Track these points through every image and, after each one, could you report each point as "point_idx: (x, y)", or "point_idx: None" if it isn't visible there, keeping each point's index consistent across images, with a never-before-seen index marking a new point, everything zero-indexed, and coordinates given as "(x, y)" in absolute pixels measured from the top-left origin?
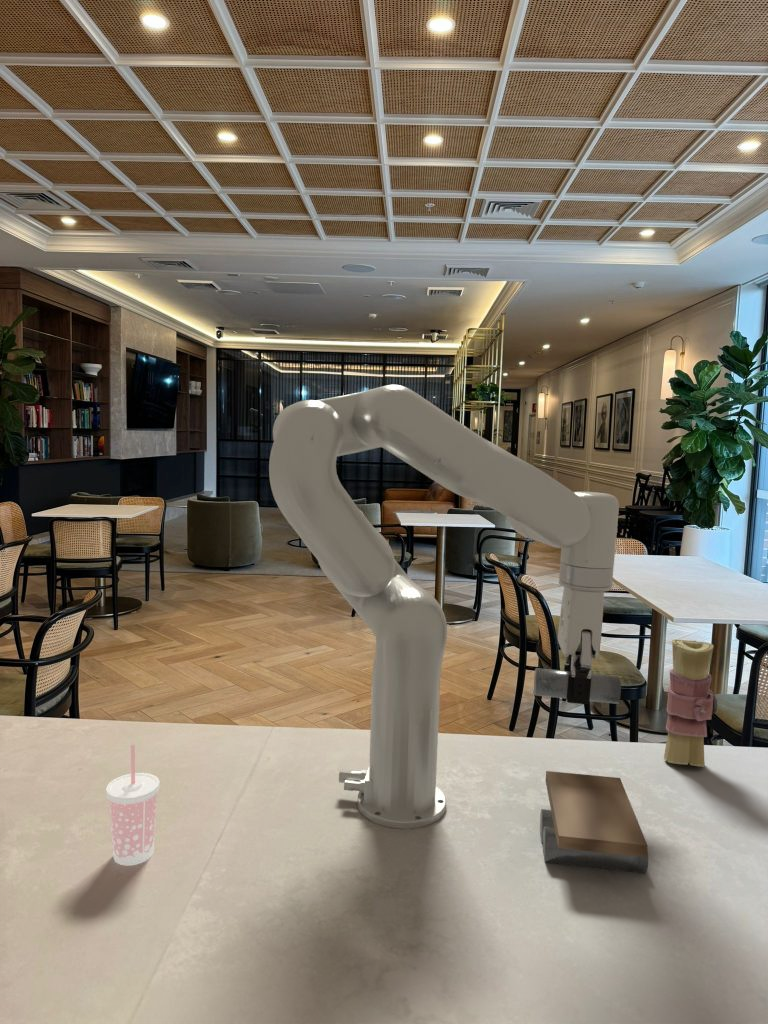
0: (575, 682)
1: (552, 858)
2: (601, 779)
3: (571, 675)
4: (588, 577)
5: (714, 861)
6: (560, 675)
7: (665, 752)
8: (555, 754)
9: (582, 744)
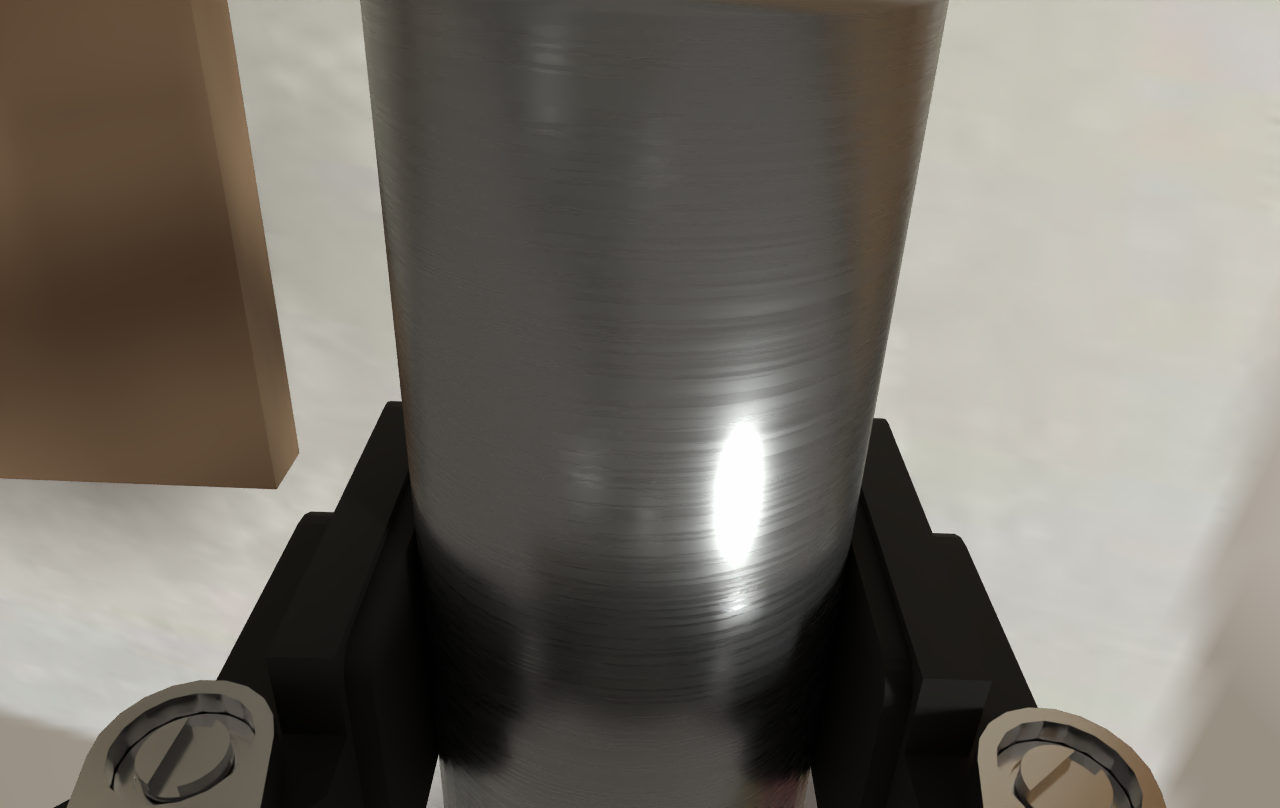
0: (230, 676)
1: None
2: (212, 379)
3: (230, 706)
4: None
5: (142, 643)
6: (482, 509)
7: None
8: (1092, 155)
9: (1226, 354)
